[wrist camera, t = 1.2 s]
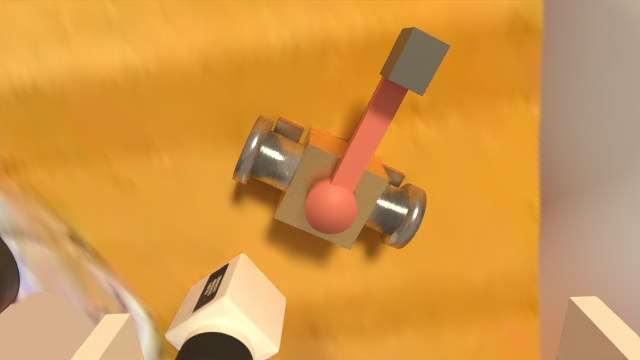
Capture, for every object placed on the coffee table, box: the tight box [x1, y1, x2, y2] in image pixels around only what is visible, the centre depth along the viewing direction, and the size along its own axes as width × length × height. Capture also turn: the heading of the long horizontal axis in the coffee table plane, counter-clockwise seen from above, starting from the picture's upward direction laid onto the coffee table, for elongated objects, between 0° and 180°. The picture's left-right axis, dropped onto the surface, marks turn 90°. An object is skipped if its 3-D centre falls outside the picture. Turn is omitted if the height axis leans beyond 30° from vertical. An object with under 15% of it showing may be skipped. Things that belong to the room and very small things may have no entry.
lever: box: [305, 27, 450, 234], centre depth 26 cm, size 16×4×4 cm, turn 155°
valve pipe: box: [233, 116, 426, 250], centre depth 33 cm, size 16×7×6 cm, turn 65°
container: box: [165, 253, 286, 360], centre depth 35 cm, size 8×8×13 cm
